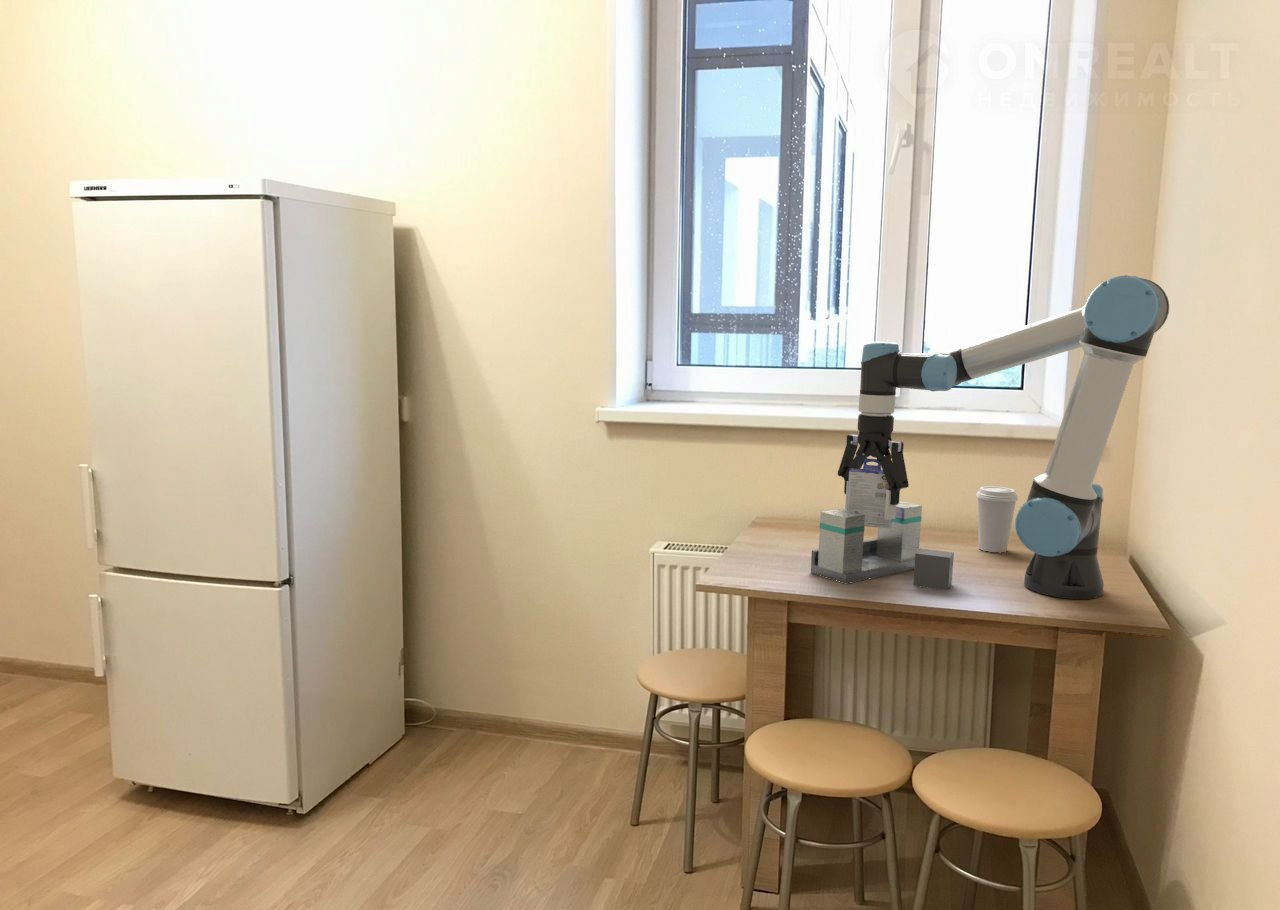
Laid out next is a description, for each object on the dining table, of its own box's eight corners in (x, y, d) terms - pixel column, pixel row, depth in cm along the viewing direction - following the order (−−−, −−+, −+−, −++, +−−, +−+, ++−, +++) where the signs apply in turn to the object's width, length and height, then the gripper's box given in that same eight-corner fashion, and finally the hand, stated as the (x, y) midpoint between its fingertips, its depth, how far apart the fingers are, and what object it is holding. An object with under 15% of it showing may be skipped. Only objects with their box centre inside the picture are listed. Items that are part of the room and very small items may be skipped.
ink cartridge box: (891, 523, 210) (896, 459, 208) (892, 529, 205) (896, 463, 203) (846, 520, 213) (849, 456, 210) (845, 525, 207) (849, 460, 205)
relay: (947, 590, 196) (950, 557, 195) (913, 585, 199) (915, 553, 198) (951, 584, 201) (953, 552, 200) (917, 580, 204) (919, 548, 203)
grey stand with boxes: (921, 567, 214) (925, 506, 212) (845, 584, 199) (849, 518, 197) (886, 557, 222) (889, 498, 219) (810, 572, 207) (813, 510, 205)
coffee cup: (984, 555, 226) (989, 493, 223) (964, 545, 235) (969, 485, 233) (1021, 554, 227) (1026, 492, 225) (1000, 544, 236) (1005, 485, 234)
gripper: (931, 418, 198) (923, 522, 202) (847, 407, 216) (841, 503, 220) (908, 420, 194) (900, 526, 197) (824, 409, 212) (819, 506, 215)
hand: (869, 514), depth 208 cm, fingers closed on ink cartridge box, 10 cm apart
